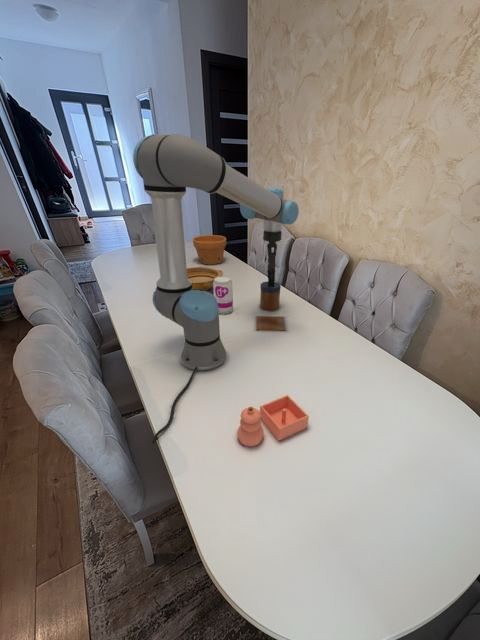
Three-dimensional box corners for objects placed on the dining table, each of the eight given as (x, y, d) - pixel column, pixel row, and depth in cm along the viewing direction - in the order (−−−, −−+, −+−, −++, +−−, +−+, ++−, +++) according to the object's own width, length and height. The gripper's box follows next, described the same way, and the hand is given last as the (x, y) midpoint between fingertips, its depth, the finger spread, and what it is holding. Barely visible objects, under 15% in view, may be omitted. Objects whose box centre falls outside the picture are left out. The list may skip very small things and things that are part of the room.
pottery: (286, 406, 88) (289, 379, 83) (307, 427, 82) (311, 399, 76) (230, 429, 80) (229, 401, 75) (248, 455, 74) (248, 426, 68)
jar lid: (280, 292, 136) (281, 288, 135) (260, 292, 136) (260, 288, 135) (279, 285, 144) (280, 281, 143) (260, 284, 144) (260, 281, 143)
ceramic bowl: (183, 303, 146) (181, 287, 142) (162, 287, 162) (160, 272, 158) (234, 289, 162) (234, 275, 158) (211, 276, 178) (210, 263, 173)
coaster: (285, 330, 126) (285, 329, 125) (256, 330, 125) (256, 329, 125) (283, 317, 136) (283, 316, 135) (256, 317, 136) (256, 316, 135)
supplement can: (230, 315, 136) (229, 283, 128) (212, 313, 138) (210, 281, 129) (235, 307, 143) (234, 276, 135) (218, 306, 144) (216, 275, 136)
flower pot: (187, 262, 200) (185, 238, 192) (210, 255, 214) (208, 233, 206) (212, 268, 190) (210, 244, 182) (233, 260, 205) (232, 237, 197)
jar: (279, 311, 141) (280, 289, 135) (260, 310, 141) (260, 289, 135) (278, 303, 149) (279, 282, 143) (260, 302, 149) (260, 282, 143)
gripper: (283, 236, 117) (280, 291, 129) (280, 224, 135) (277, 273, 148) (263, 236, 117) (262, 291, 129) (263, 224, 135) (262, 273, 148)
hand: (270, 282), depth 138 cm, fingers open, 10 cm apart
